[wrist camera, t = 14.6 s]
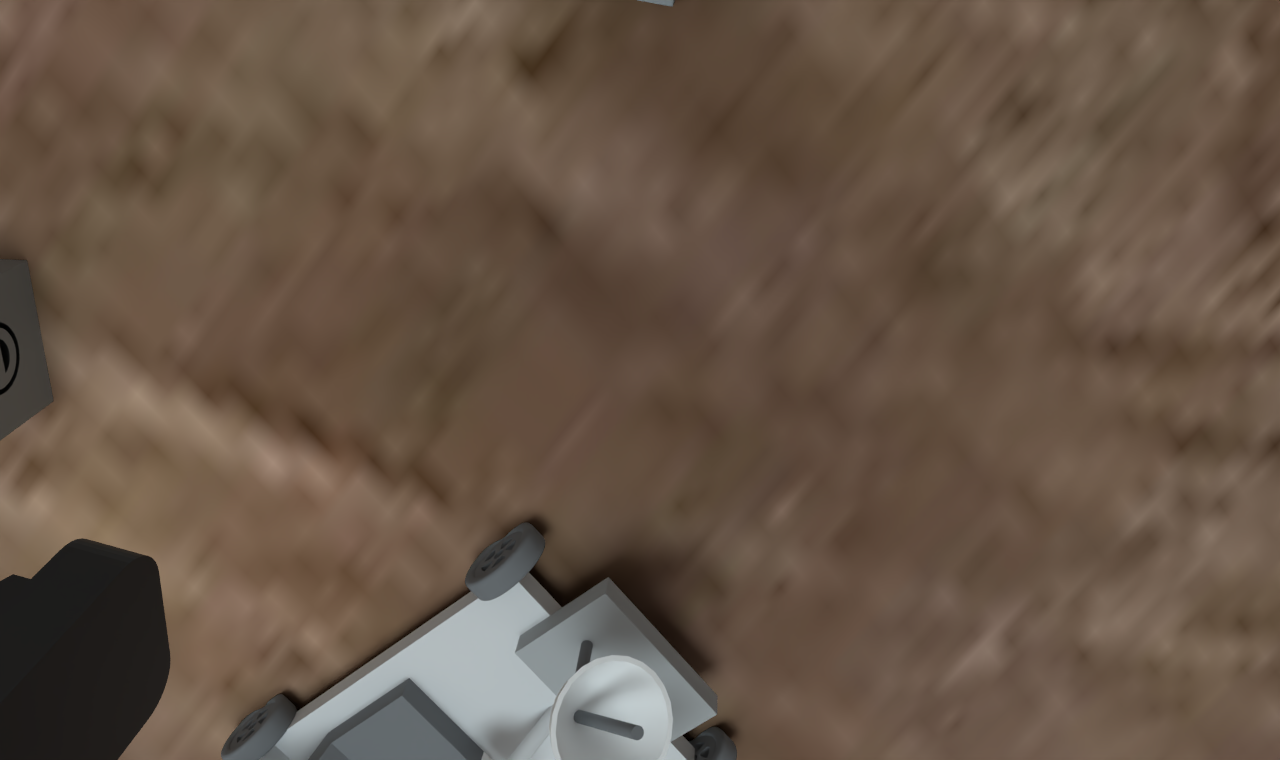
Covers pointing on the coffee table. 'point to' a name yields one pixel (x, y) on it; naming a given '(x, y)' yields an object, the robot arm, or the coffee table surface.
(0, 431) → the dice cube
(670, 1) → the ribbed grey platform
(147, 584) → the robot arm
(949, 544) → the coffee table surface
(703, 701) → the toy car
